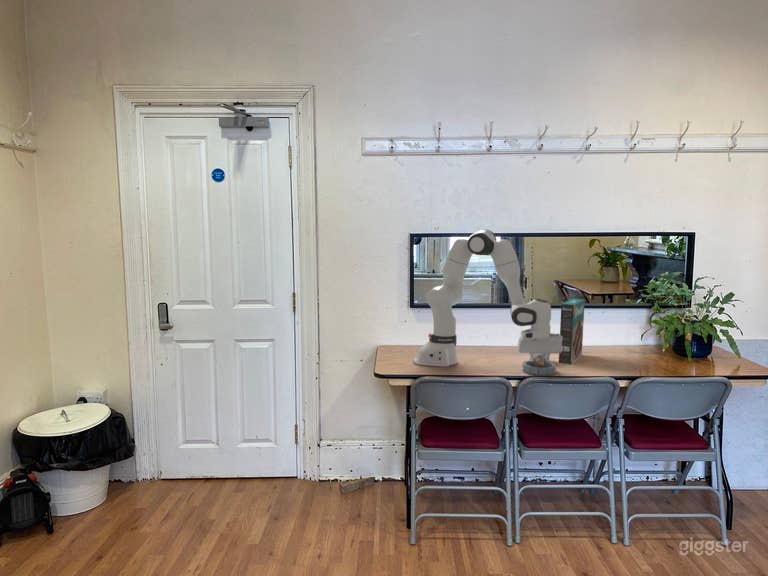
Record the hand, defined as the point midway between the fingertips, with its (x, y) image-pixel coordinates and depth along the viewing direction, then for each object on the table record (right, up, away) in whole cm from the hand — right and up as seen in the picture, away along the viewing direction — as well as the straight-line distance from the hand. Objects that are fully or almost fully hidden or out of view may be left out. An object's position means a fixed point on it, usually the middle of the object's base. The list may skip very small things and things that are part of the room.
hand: (539, 361), depth 252 cm
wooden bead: (0, -2, 0) cm, 2 cm away
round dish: (0, -5, +1) cm, 5 cm away
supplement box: (+6, -2, +20) cm, 21 cm away
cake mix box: (+23, -2, +24) cm, 34 cm away
